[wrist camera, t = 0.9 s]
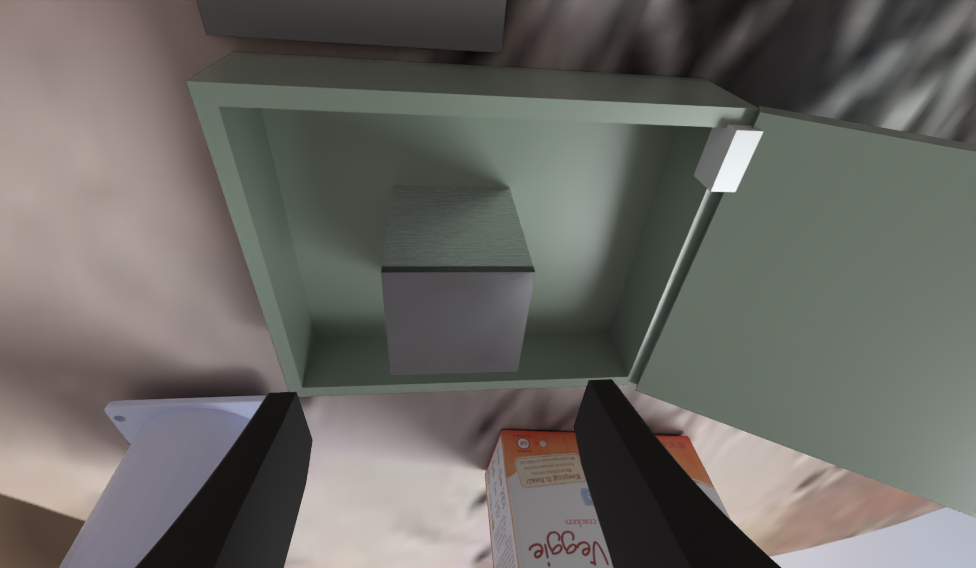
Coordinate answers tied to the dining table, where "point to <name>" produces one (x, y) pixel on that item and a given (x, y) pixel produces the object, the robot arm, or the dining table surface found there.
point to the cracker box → (556, 500)
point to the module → (455, 280)
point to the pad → (363, 22)
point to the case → (627, 245)
